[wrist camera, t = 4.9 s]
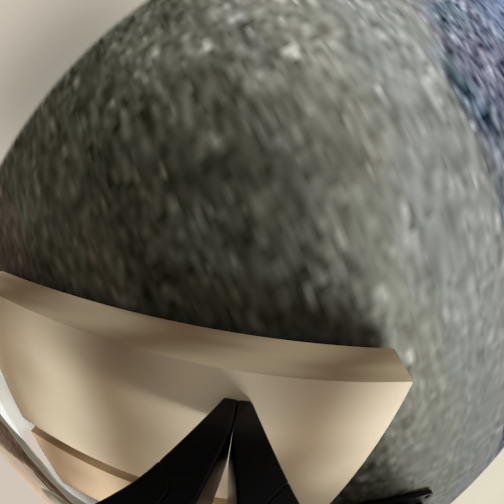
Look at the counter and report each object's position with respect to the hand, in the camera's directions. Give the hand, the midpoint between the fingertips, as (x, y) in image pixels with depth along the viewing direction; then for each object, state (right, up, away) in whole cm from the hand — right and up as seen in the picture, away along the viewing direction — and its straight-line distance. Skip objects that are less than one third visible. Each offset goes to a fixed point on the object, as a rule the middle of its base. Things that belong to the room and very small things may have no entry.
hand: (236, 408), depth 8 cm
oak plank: (-4, -2, +3) cm, 5 cm away
